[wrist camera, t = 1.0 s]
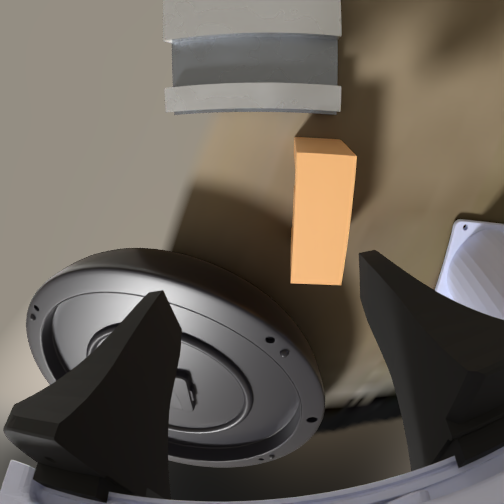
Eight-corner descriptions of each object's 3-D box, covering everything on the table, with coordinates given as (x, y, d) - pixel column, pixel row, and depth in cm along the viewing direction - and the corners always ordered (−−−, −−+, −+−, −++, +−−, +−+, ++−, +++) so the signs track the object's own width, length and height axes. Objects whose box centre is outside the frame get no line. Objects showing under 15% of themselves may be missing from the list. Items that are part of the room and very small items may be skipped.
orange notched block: (340, 139, 19) (357, 156, 15) (331, 244, 23) (341, 285, 19) (294, 136, 20) (296, 152, 15) (290, 242, 23) (290, 283, 19)
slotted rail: (330, -62, 12) (334, -77, 10) (334, 113, 19) (340, 116, 16) (178, -55, 13) (166, -68, 11) (179, 113, 20) (166, 117, 17)
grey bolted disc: (103, 412, 41) (306, 438, 37) (89, 442, 35) (306, 477, 32) (19, 231, 26) (340, 233, 23) (-19, 261, 21) (354, 280, 18)
